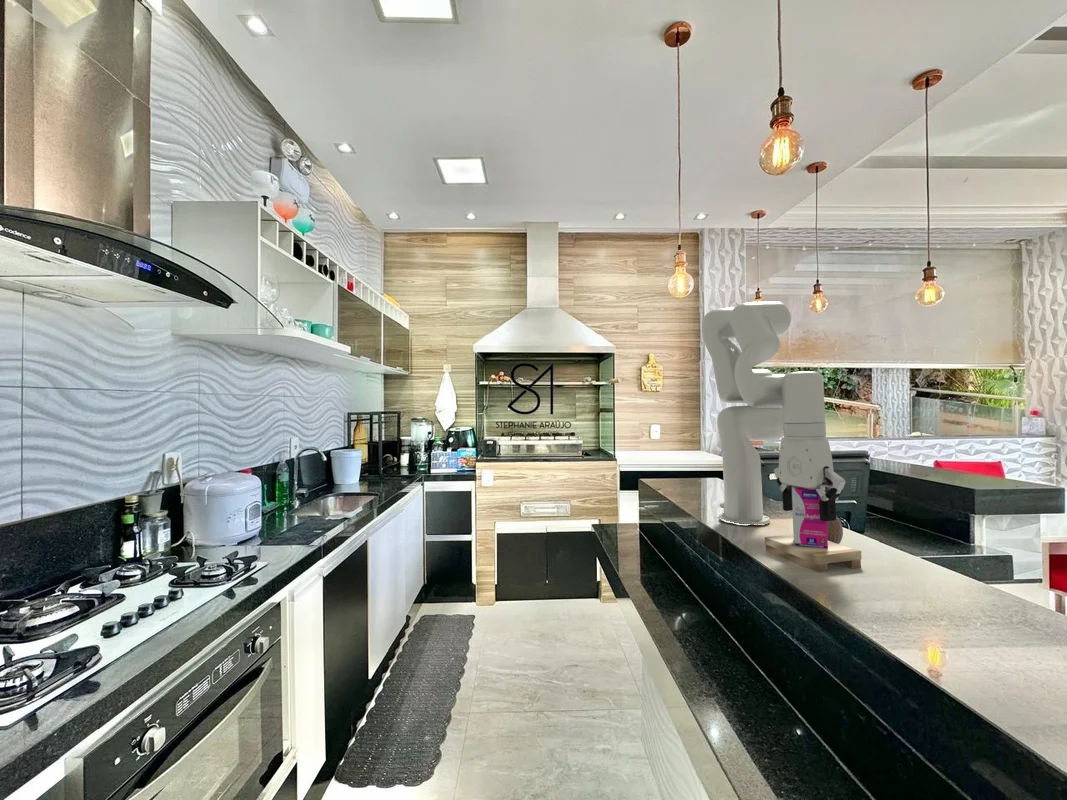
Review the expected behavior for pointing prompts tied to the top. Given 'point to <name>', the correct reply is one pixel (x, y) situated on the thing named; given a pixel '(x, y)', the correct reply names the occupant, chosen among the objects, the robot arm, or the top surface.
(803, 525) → the supplement box
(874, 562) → the top surface
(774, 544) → the platform
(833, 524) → the vase
